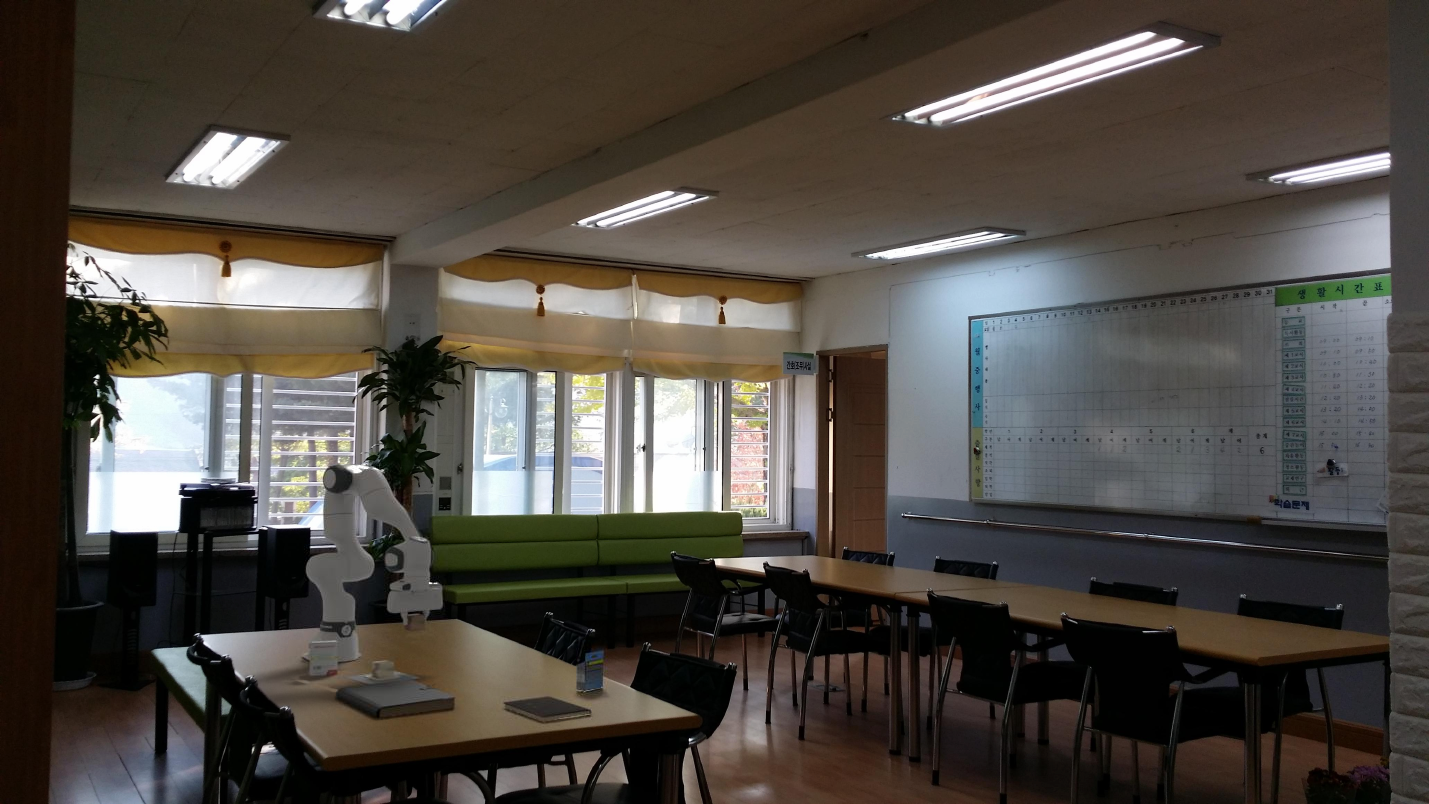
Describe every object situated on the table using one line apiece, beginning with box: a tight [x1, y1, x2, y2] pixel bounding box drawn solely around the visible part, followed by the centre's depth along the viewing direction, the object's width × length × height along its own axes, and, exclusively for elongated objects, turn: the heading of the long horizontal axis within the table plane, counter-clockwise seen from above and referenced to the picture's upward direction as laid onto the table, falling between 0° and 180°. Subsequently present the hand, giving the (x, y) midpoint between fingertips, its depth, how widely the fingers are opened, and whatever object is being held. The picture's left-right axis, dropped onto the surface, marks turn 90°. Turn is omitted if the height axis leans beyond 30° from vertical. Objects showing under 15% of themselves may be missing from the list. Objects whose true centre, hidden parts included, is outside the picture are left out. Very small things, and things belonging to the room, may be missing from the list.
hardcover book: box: [503, 695, 592, 723], centre depth 315 cm, size 16×23×2 cm
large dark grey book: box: [335, 679, 456, 719], centre depth 324 cm, size 33×4×24 cm
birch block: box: [371, 660, 395, 679], centre depth 358 cm, size 5×5×5 cm
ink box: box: [308, 640, 339, 677], centre depth 363 cm, size 9×5×12 cm, turn 116°
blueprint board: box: [344, 670, 421, 685], centre depth 358 cm, size 18×18×1 cm
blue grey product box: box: [575, 649, 605, 691], centre depth 348 cm, size 9×4×12 cm, turn 145°
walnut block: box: [403, 613, 426, 632], centre depth 376 cm, size 5×5×5 cm
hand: (414, 624), depth 376 cm, fingers closed on walnut block, 5 cm apart
